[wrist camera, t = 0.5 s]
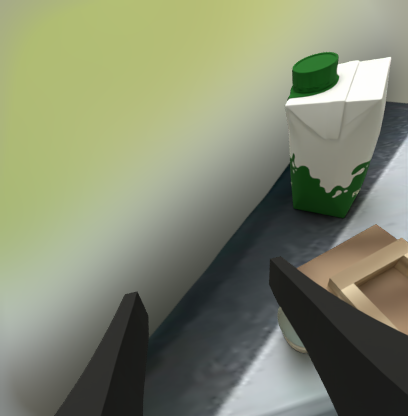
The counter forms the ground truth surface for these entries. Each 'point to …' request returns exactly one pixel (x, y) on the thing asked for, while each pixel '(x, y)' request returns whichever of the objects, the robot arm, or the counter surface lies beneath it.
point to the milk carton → (333, 129)
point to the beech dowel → (290, 333)
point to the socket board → (367, 275)
